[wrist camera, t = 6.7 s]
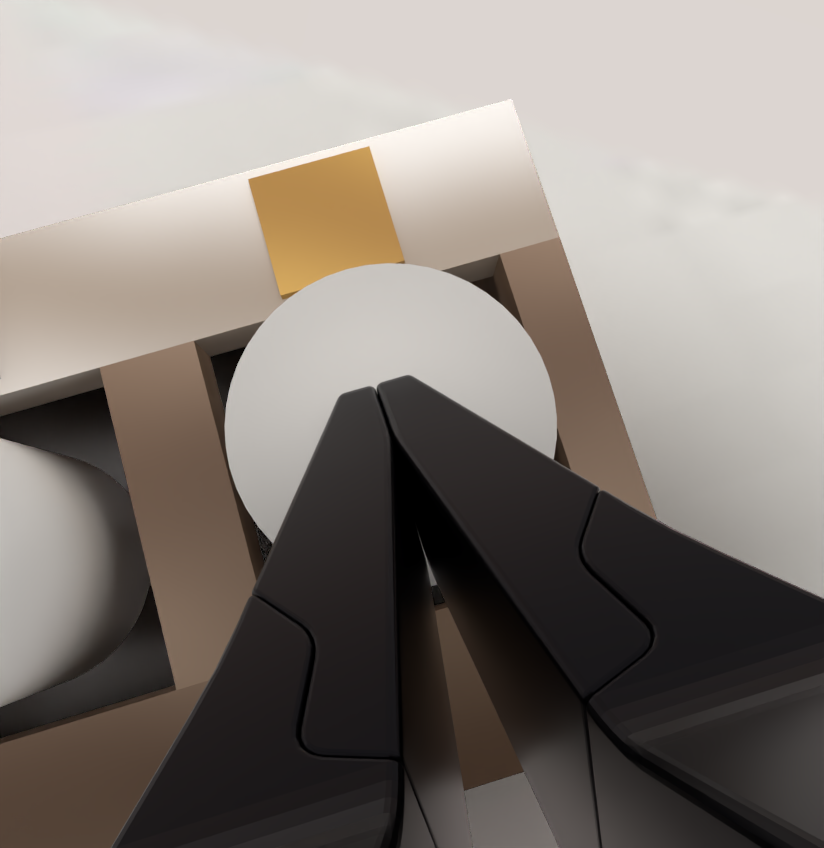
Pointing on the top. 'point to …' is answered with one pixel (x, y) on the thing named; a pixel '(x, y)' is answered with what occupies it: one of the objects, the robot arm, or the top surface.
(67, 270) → the brown compartment box
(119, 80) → the top surface
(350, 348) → the button
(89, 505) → the middle button
